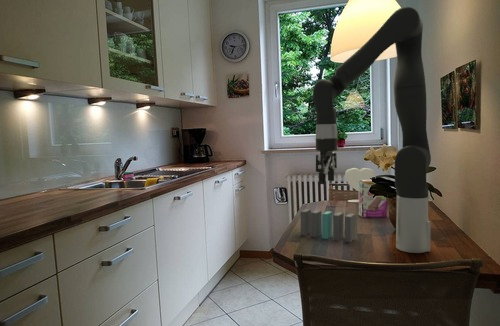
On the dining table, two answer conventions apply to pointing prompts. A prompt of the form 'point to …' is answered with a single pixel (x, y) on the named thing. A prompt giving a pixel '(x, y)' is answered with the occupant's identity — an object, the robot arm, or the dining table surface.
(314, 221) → the domino
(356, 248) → the dining table surface
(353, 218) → the domino
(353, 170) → the heart sculpture
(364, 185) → the candy bar box
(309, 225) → the domino
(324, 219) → the domino
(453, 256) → the dining table surface
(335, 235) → the domino
